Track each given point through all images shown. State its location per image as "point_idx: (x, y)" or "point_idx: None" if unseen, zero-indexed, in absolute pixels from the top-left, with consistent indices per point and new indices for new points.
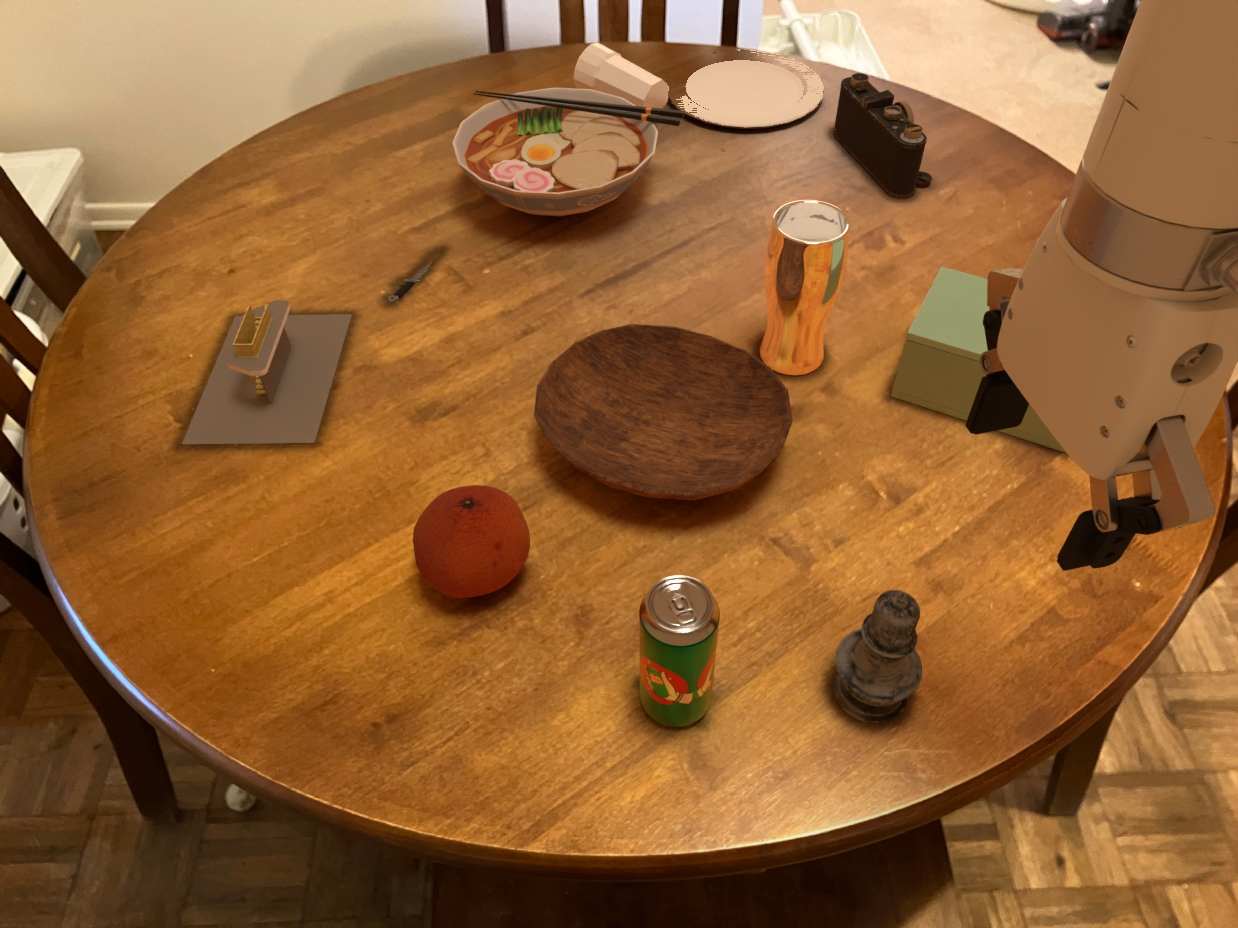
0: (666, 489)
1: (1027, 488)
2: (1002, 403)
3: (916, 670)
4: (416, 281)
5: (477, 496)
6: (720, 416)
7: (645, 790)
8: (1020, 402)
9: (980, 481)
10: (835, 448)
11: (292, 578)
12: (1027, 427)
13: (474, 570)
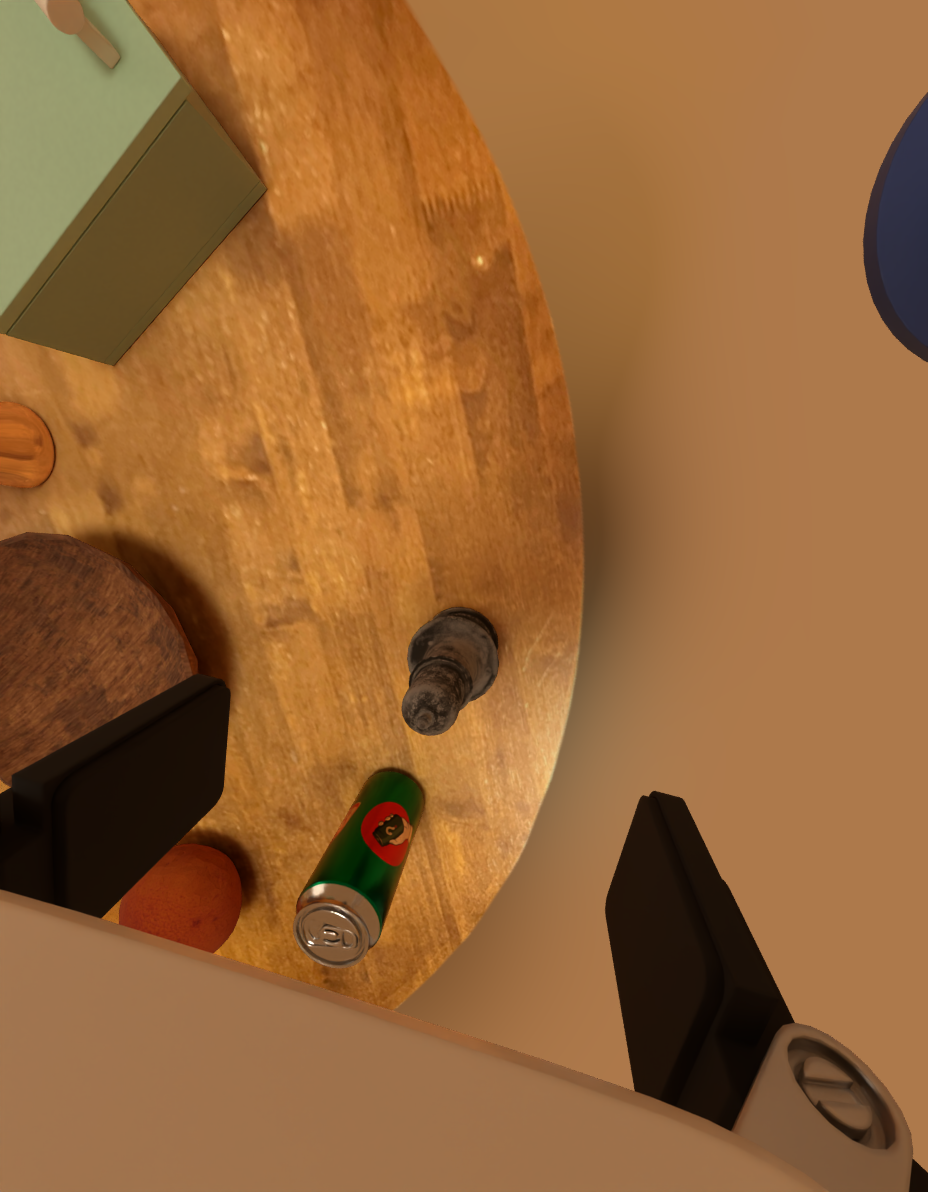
0: None
1: (301, 292)
2: (148, 821)
3: (477, 633)
4: None
5: None
6: (94, 592)
7: (460, 854)
8: (158, 761)
9: (272, 346)
10: (173, 486)
11: None
12: (211, 222)
13: (216, 937)
